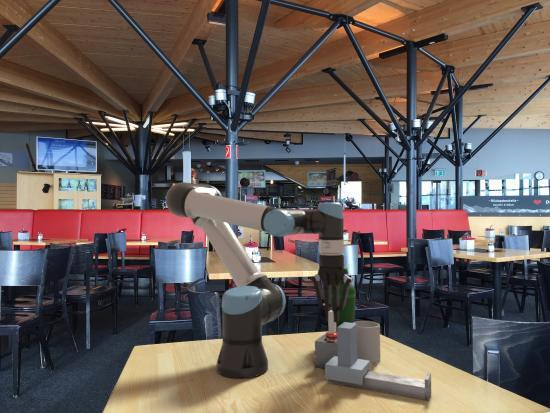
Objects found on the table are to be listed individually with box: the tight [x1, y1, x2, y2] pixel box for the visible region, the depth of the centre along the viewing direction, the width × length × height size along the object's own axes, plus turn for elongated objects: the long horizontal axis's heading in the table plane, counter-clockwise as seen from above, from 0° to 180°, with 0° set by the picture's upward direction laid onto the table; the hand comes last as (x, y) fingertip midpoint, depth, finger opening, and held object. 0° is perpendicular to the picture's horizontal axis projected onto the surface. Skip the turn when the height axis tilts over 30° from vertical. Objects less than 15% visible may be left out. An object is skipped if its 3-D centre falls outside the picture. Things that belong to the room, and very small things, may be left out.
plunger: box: [325, 331, 337, 342], centre depth 129 cm, size 4×4×9 cm
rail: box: [326, 370, 432, 401], centre depth 112 cm, size 26×5×5 cm, turn 63°
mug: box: [354, 320, 381, 365], centre depth 136 cm, size 12×8×11 cm
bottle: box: [331, 262, 357, 332], centre depth 151 cm, size 11×11×28 cm
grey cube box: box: [314, 333, 338, 371], centre depth 129 cm, size 8×8×8 cm
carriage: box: [324, 322, 371, 385], centre depth 116 cm, size 10×8×14 cm
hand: (332, 332), depth 129 cm, fingers closed
